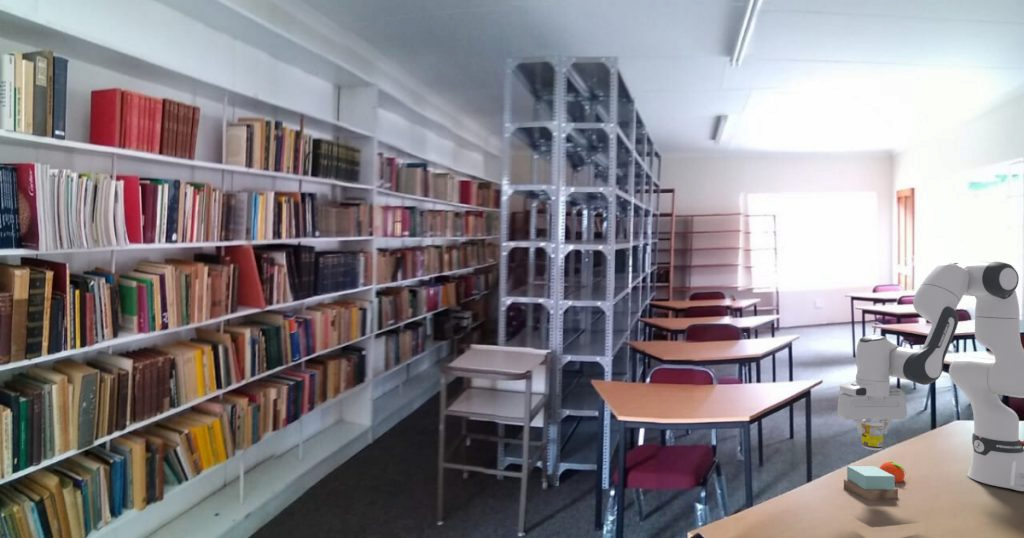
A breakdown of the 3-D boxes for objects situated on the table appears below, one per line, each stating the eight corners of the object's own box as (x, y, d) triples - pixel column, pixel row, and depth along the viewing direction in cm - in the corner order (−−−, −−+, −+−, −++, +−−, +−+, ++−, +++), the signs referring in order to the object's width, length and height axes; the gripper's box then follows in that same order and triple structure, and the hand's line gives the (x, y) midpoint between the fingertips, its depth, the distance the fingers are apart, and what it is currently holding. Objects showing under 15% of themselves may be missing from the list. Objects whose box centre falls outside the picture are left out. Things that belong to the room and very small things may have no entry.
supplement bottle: (859, 444, 179) (860, 411, 179) (880, 446, 177) (880, 413, 177) (863, 449, 174) (863, 415, 174) (884, 451, 172) (885, 417, 172)
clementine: (912, 486, 183) (912, 464, 183) (899, 490, 180) (899, 467, 180) (887, 478, 191) (887, 457, 191) (874, 481, 188) (874, 460, 188)
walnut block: (869, 489, 182) (869, 477, 182) (897, 501, 172) (897, 488, 172) (843, 492, 179) (843, 479, 179) (870, 504, 169) (870, 491, 169)
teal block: (875, 478, 180) (875, 466, 180) (894, 489, 171) (894, 476, 171) (847, 478, 180) (847, 465, 180) (864, 489, 171) (865, 475, 171)
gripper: (897, 386, 179) (896, 430, 179) (834, 386, 178) (834, 430, 178) (912, 390, 173) (912, 436, 173) (847, 390, 172) (847, 436, 172)
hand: (872, 433), depth 175 cm, fingers closed on supplement bottle, 5 cm apart
